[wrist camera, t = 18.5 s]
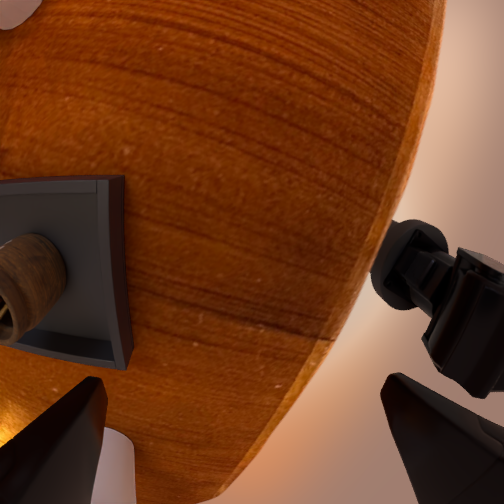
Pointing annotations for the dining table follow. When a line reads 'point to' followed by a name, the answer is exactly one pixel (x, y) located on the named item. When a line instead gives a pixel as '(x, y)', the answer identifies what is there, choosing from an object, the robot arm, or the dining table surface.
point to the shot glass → (16, 12)
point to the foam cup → (115, 471)
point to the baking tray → (76, 264)
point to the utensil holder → (28, 284)
